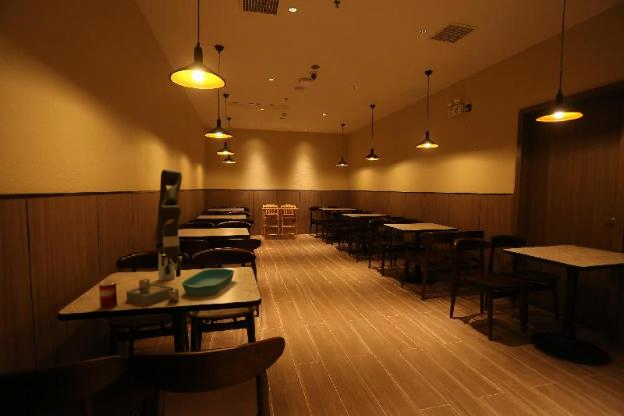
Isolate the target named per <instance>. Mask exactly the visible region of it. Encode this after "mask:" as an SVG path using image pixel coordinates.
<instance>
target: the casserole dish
mask: <svg viewBox="0 0 624 416" xmlns="http://www.w3.org/2000/svg"><path fill="white" fill-rule="evenodd" d="M234 273H235V270H234V269H229V268H224V267H223V268H221V267H220V268H219V267H217V268H208V269H204V270H201V271H199V272H197V273H195V274H193V275H191V276H190V277H188V278H186V279H185V280H184V281H182V282H181V285H182V288H183V290H184V292H185V293H186V294H187V295H188V296H207V297H208V296H213V295H215V294H217V293H219V292H220V291H221V290H223V289H224V288H225V287H227V285H229V284H230V283H231V282H232V280H233V277H234Z"/></svg>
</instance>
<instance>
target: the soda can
mask: <svg viewBox="0 0 624 416" xmlns="http://www.w3.org/2000/svg"><path fill="white" fill-rule="evenodd" d="M117 293H118V292H117V283H116V281H111V280H110V281H104V282H101V283H100V284H99V285H98V294H99V308H100V309H101V308H102V309H101V310H110V309H113V307H114V308H116V307H117V305H118V294H117ZM115 306H116V307H115ZM109 308H110V309H109Z"/></svg>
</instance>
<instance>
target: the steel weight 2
mask: <svg viewBox="0 0 624 416" xmlns="http://www.w3.org/2000/svg"><path fill="white" fill-rule="evenodd" d="M179 293H180V292H179V289H178V288H173V289H171V290H168V299H167V300H168V302H167V303H168V304H177V303H179V302H180V298H179V297H180V296H179V295H180V294H179Z"/></svg>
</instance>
